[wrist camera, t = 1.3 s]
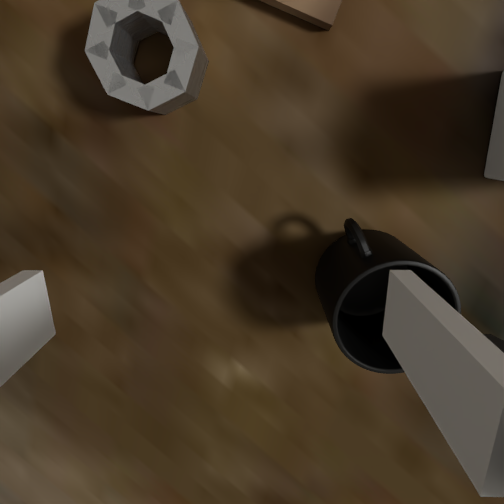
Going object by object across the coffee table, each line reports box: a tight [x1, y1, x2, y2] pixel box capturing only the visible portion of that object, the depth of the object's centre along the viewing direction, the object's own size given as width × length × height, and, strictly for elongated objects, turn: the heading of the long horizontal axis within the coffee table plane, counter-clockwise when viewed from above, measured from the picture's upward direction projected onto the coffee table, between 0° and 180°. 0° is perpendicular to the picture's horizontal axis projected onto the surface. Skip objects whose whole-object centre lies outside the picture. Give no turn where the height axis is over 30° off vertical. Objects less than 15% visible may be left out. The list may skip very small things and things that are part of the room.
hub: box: [85, 0, 209, 115], centre depth 27 cm, size 7×7×5 cm
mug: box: [315, 218, 461, 374], centre depth 30 cm, size 9×12×9 cm
